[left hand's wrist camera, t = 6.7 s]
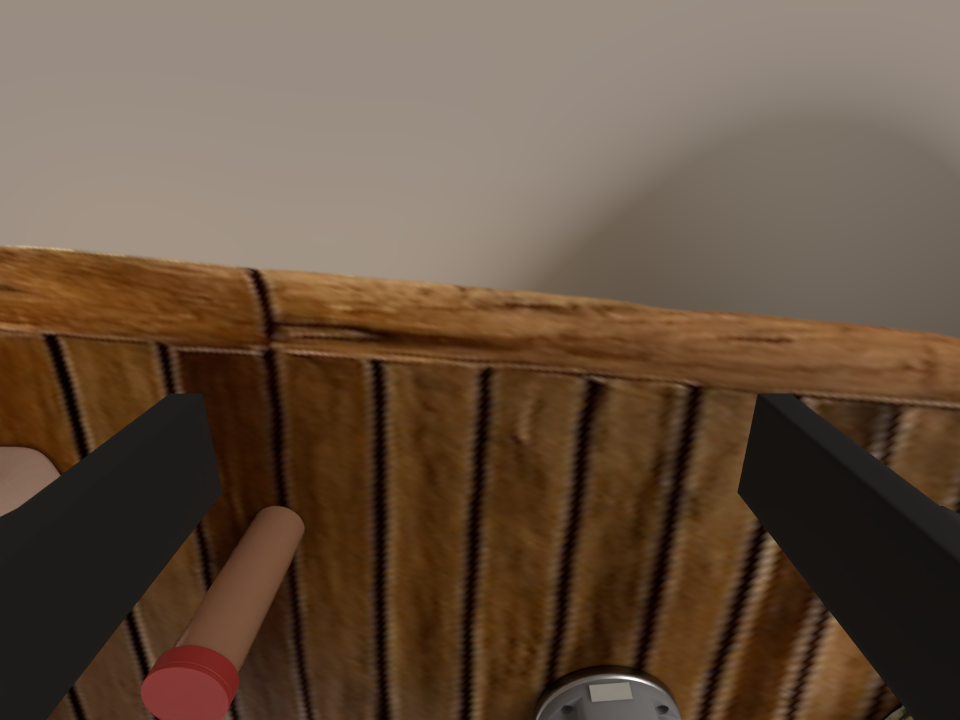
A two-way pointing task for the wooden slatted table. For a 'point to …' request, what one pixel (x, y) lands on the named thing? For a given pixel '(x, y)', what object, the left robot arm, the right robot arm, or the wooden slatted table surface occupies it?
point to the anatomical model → (22, 476)
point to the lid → (190, 684)
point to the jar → (245, 586)
